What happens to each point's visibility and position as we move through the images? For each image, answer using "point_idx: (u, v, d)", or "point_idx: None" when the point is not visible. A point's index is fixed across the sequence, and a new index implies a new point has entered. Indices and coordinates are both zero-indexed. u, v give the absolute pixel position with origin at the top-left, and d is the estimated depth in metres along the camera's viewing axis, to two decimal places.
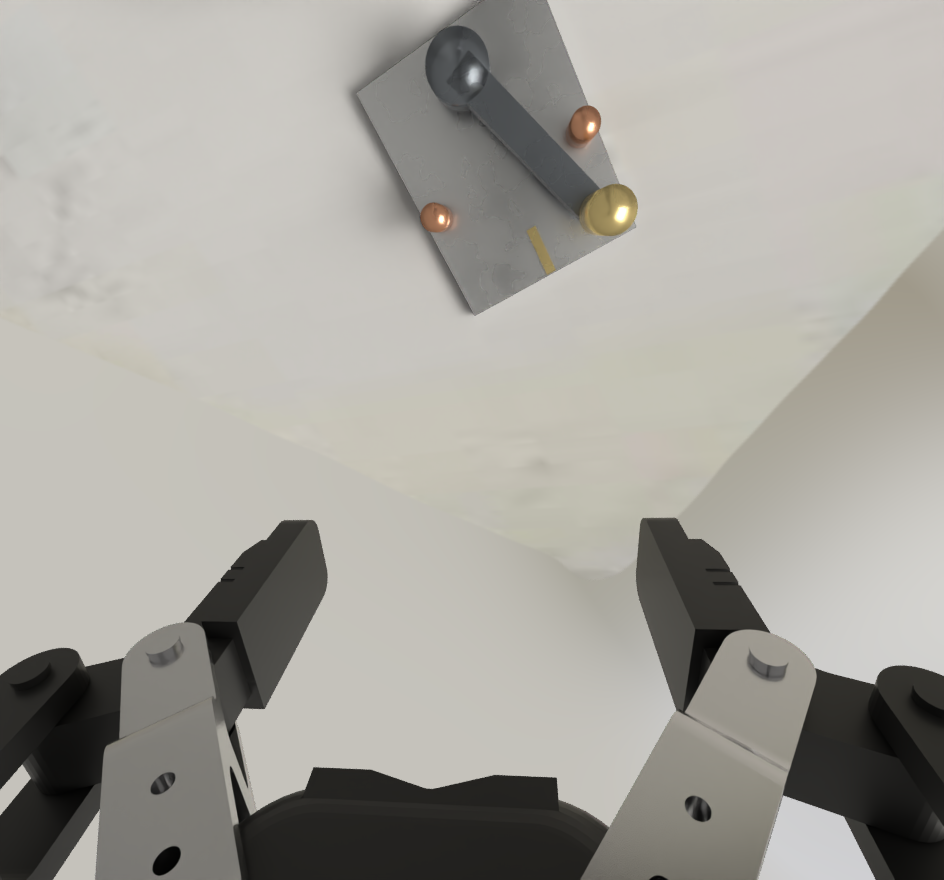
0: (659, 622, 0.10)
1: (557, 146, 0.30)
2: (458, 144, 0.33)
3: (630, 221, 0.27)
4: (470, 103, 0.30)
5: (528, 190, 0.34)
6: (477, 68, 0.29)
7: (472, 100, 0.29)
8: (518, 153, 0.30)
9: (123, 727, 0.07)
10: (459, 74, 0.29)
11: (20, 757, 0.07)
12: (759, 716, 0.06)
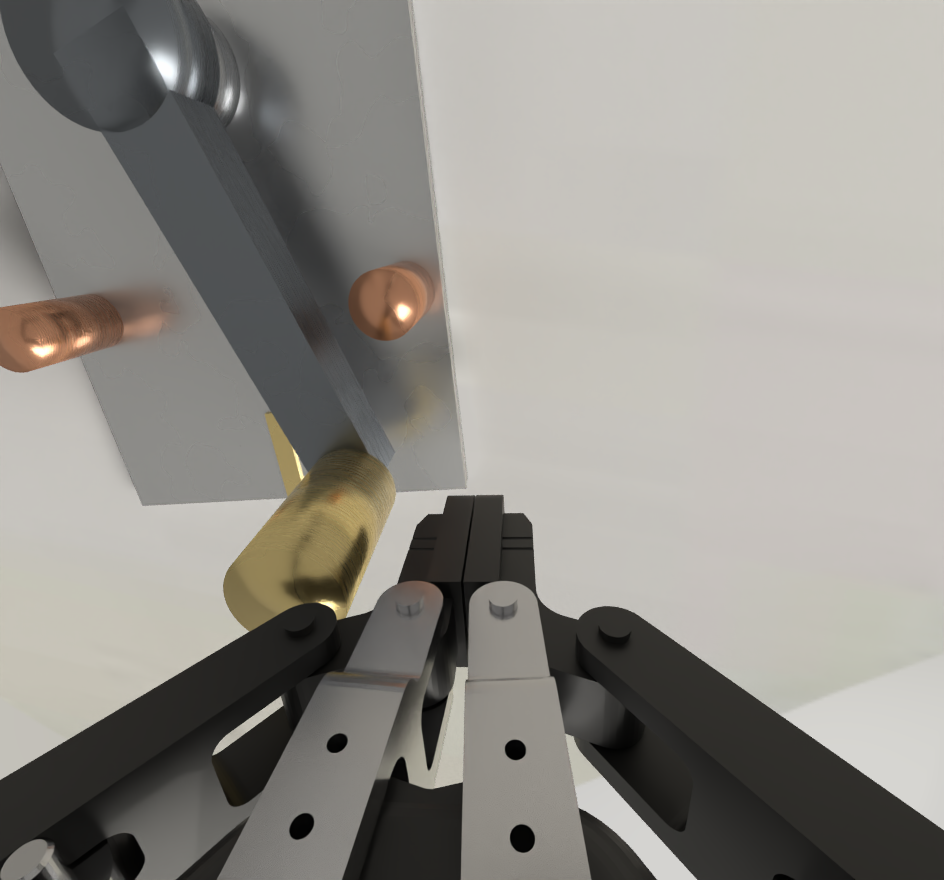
0: None
1: (298, 332, 0.13)
2: None
3: None
4: (110, 139, 0.11)
5: None
6: (141, 66, 0.11)
7: (116, 135, 0.11)
8: (209, 303, 0.13)
9: (352, 658, 0.08)
10: (91, 55, 0.11)
11: (262, 702, 0.07)
12: (516, 649, 0.08)
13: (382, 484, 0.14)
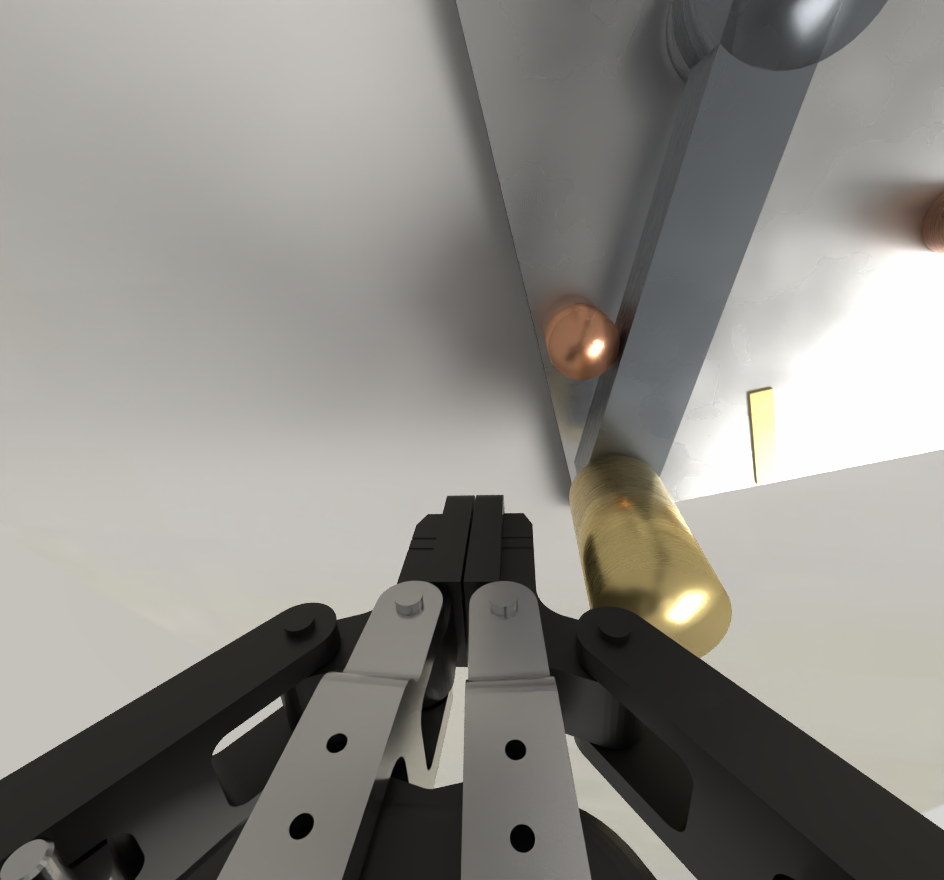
0: None
1: (706, 343, 0.12)
2: None
3: None
4: (720, 57, 0.10)
5: (787, 313, 0.15)
6: (815, 22, 0.10)
7: (730, 58, 0.10)
8: (654, 262, 0.12)
9: (351, 658, 0.08)
10: None
11: (262, 702, 0.07)
12: (516, 649, 0.08)
13: None
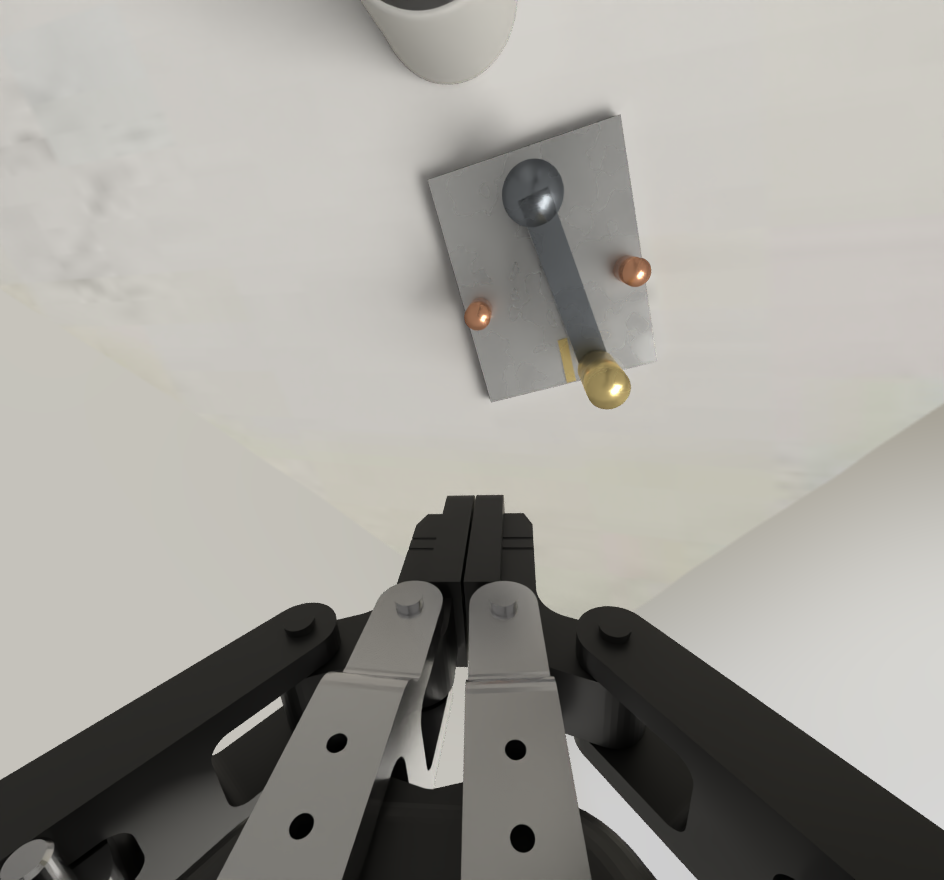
0: None
1: (586, 300, 0.32)
2: (513, 250, 0.35)
3: (618, 403, 0.30)
4: (530, 229, 0.31)
5: None
6: (549, 205, 0.30)
7: (533, 228, 0.31)
8: (552, 289, 0.32)
9: (351, 659, 0.08)
10: (531, 201, 0.30)
11: (262, 702, 0.07)
12: (517, 649, 0.08)
13: None
